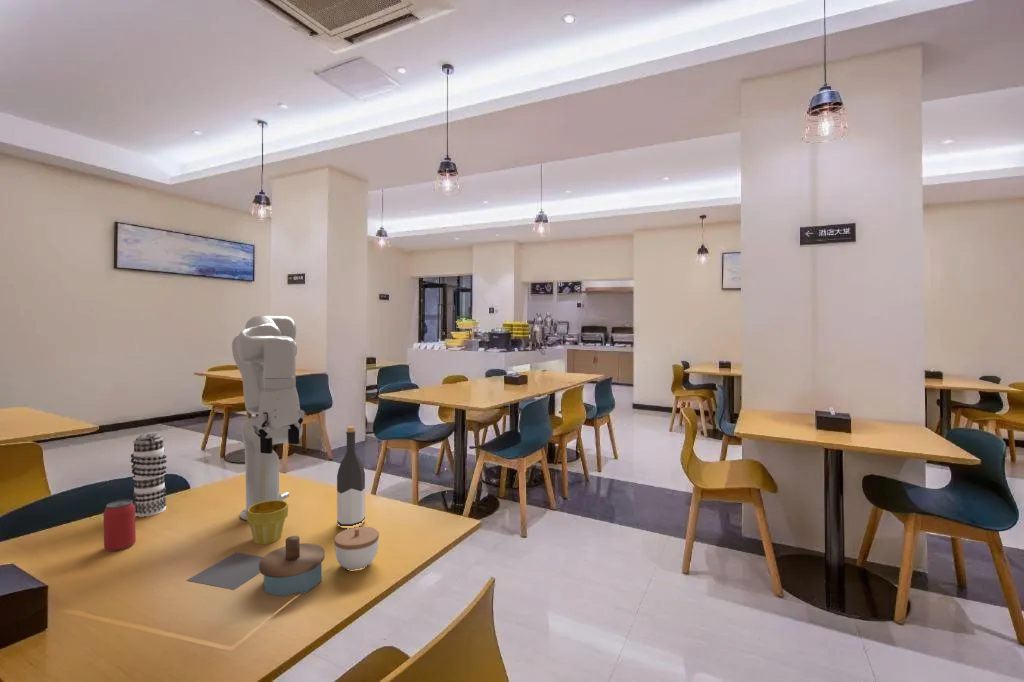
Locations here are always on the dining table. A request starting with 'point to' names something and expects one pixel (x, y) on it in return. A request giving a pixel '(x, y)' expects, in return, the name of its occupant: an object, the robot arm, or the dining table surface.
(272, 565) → the lid
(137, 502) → the decorative candle
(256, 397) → the robot arm
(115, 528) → the beer can
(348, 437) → the wine bottle
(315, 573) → the bowl
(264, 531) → the plant pot
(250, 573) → the mat
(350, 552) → the lidded jar
